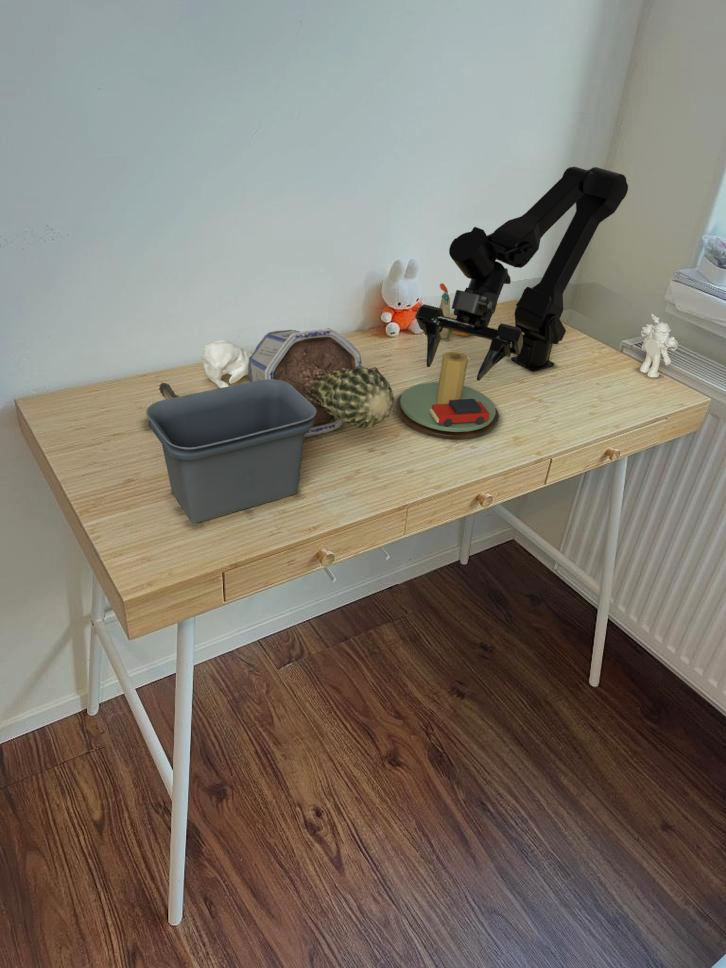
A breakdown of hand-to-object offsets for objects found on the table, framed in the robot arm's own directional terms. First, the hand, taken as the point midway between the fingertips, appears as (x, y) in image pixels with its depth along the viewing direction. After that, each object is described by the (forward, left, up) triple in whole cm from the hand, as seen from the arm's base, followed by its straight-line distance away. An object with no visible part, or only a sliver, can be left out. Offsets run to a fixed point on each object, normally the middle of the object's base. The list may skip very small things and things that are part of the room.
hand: (452, 373), depth 133 cm
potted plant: (+24, -5, -8) cm, 26 cm away
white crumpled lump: (+27, -28, -8) cm, 40 cm away
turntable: (0, 0, -7) cm, 7 cm away
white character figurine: (-49, +8, -8) cm, 50 cm away
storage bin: (+45, +2, -8) cm, 45 cm away
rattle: (-24, -25, -8) cm, 36 cm away
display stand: (0, 0, -8) cm, 8 cm away
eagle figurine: (+43, -19, -8) cm, 48 cm away
